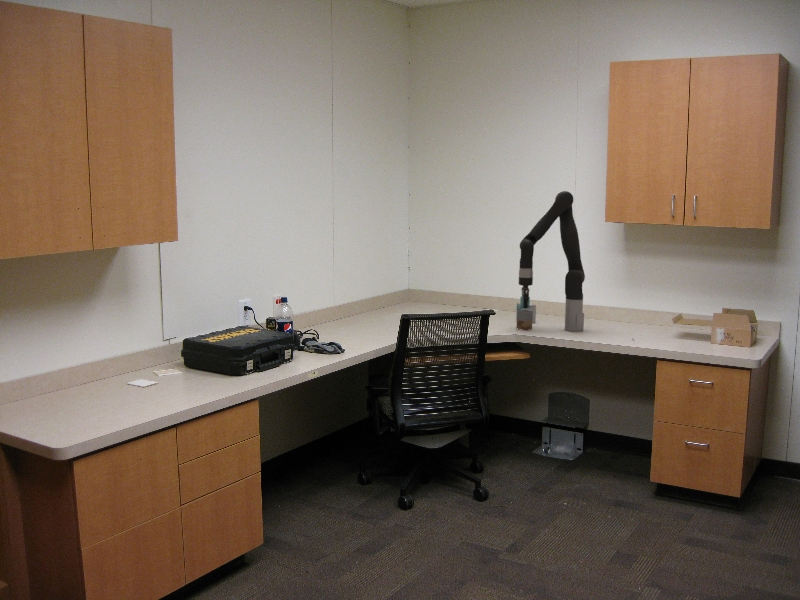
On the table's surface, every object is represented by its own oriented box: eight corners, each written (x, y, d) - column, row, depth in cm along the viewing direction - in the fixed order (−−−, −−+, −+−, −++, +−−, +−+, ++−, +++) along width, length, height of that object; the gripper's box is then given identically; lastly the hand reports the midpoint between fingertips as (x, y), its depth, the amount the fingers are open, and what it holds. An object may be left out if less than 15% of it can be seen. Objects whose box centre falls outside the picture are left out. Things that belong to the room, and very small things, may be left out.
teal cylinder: (531, 308, 441) (531, 297, 440) (525, 308, 437) (525, 298, 436) (524, 306, 444) (524, 296, 443) (518, 307, 441) (518, 296, 440)
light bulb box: (515, 321, 467) (516, 302, 465) (525, 320, 469) (526, 301, 468) (526, 324, 457) (526, 305, 455) (536, 323, 460) (536, 304, 458)
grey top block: (532, 320, 441) (532, 311, 441) (525, 321, 437) (525, 312, 437) (523, 318, 446) (524, 309, 445) (516, 319, 442) (517, 310, 441)
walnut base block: (532, 329, 442) (532, 320, 441) (525, 330, 438) (525, 321, 437) (523, 327, 447) (523, 318, 446) (516, 328, 443) (516, 319, 442)
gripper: (534, 278, 431) (533, 309, 433) (531, 274, 445) (530, 305, 448) (519, 277, 431) (519, 309, 434) (517, 274, 445) (516, 305, 448)
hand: (524, 307), depth 441 cm, fingers closed on teal cylinder, 5 cm apart
